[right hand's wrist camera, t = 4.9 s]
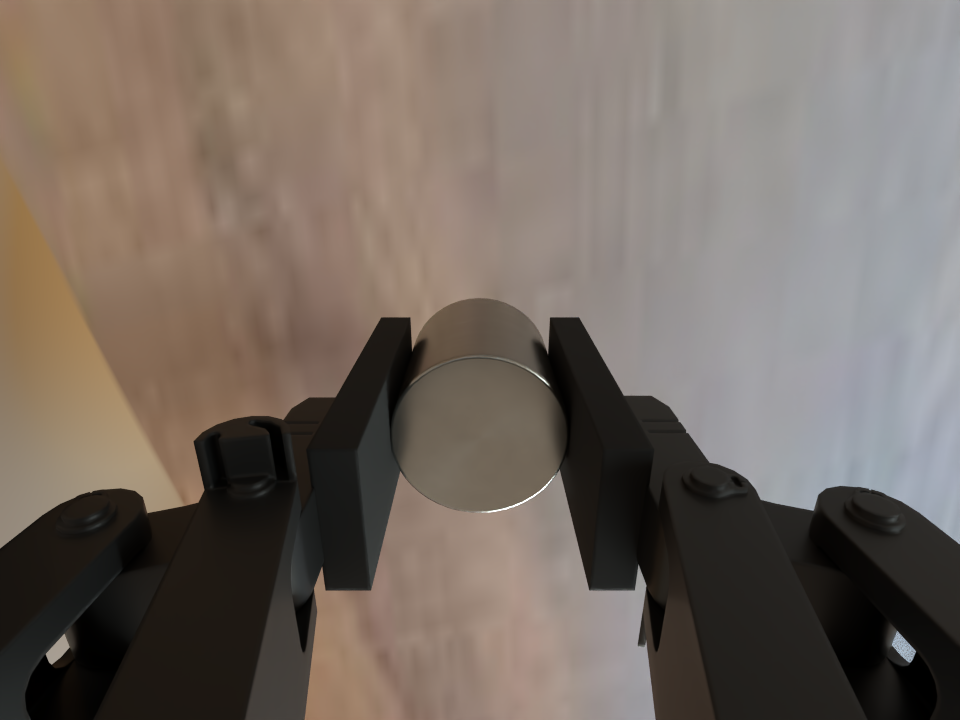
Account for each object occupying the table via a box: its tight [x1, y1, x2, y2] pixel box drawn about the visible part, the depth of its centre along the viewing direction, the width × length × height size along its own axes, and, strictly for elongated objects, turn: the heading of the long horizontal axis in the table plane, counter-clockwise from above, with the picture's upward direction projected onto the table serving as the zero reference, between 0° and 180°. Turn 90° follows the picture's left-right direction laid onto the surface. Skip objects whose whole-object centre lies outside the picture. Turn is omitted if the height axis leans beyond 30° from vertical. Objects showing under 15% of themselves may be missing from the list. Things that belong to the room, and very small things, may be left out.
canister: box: [390, 298, 570, 513], centre depth 13 cm, size 4×4×4 cm
